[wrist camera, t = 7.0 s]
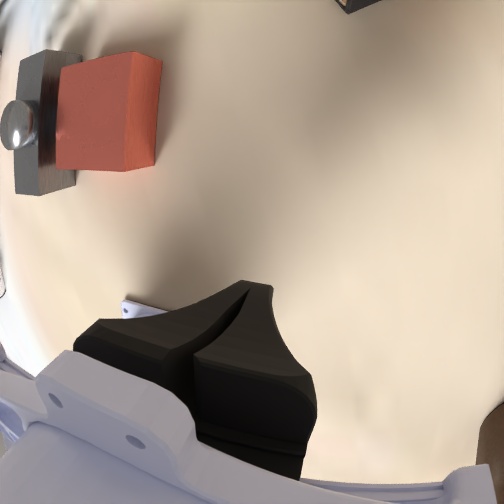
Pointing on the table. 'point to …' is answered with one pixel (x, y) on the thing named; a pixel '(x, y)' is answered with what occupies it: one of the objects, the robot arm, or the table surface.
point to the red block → (108, 113)
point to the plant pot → (493, 449)
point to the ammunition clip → (354, 4)
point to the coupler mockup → (37, 124)
